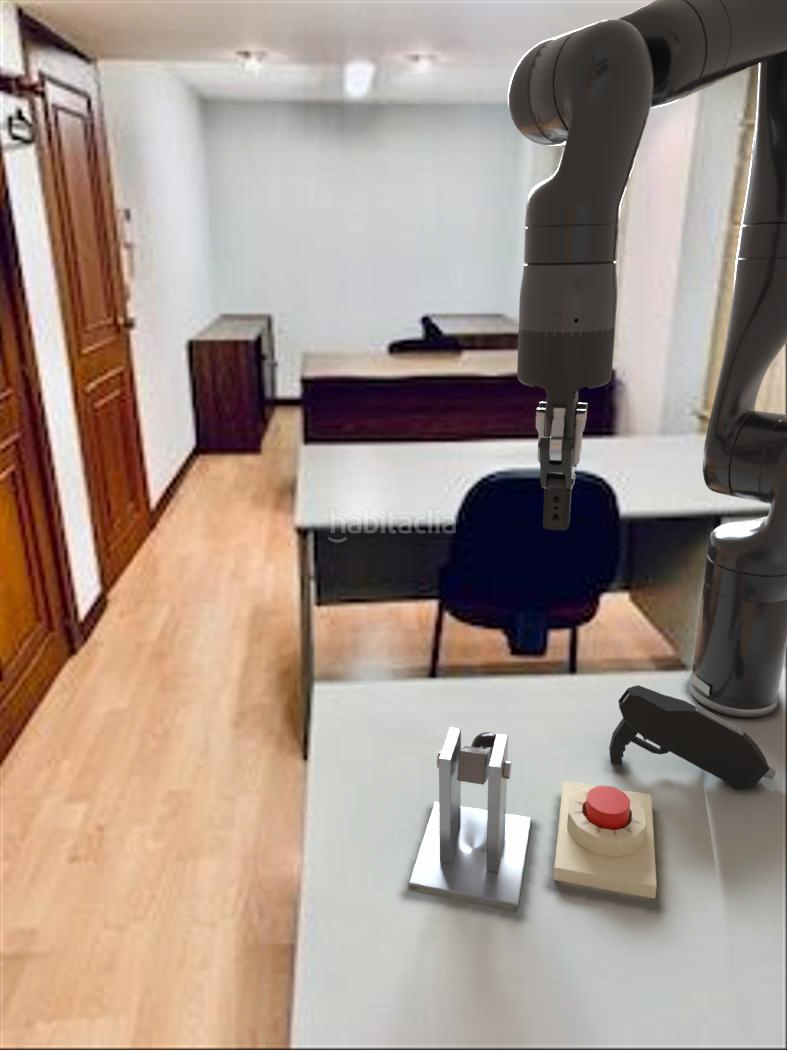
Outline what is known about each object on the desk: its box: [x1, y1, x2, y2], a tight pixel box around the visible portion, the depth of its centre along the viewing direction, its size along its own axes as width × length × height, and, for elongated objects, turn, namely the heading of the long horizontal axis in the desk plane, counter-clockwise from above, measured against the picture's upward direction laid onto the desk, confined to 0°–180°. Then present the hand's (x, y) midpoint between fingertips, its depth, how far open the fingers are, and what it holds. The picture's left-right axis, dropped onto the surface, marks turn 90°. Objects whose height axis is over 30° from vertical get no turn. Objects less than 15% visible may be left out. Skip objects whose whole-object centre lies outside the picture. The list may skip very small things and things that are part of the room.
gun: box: [608, 684, 777, 791], centre depth 75 cm, size 3×16×10 cm, turn 78°
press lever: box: [457, 731, 497, 786], centre depth 67 cm, size 12×3×3 cm, turn 164°
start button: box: [586, 785, 630, 830], centre depth 65 cm, size 4×4×2 cm
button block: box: [553, 780, 658, 900], centre depth 66 cm, size 11×8×4 cm
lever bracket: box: [408, 726, 532, 908], centre depth 64 cm, size 10×9×12 cm
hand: (556, 526), depth 66 cm, fingers closed
